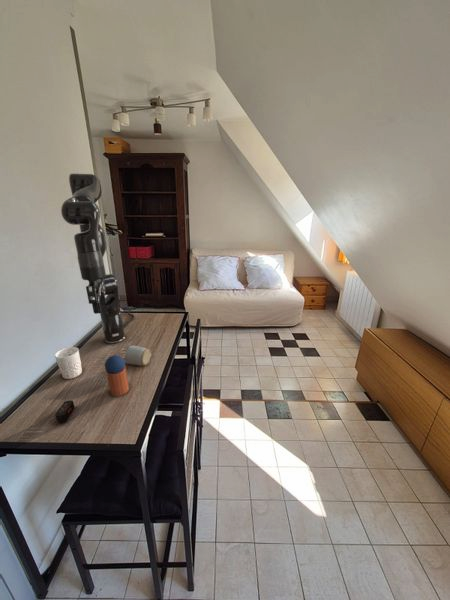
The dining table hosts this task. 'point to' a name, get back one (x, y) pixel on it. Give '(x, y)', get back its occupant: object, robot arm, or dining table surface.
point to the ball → (114, 364)
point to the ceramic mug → (137, 355)
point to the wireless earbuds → (65, 411)
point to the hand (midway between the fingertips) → (100, 308)
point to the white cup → (69, 362)
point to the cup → (118, 382)
